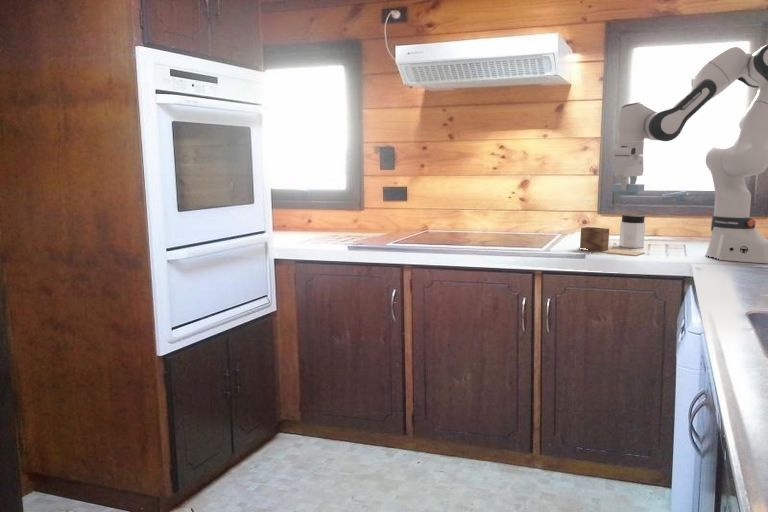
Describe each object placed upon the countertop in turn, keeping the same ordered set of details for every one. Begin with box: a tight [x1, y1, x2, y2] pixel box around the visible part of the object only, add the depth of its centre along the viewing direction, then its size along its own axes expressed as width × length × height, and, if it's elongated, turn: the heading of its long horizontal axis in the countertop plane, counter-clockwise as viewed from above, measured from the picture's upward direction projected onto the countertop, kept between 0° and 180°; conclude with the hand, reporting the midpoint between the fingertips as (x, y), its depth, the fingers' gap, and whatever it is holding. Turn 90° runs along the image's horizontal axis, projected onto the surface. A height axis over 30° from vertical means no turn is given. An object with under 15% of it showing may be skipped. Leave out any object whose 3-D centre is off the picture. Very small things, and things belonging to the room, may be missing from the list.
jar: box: [618, 213, 646, 249], centre depth 268 cm, size 9×8×12 cm
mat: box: [601, 248, 646, 257], centre depth 252 cm, size 12×9×1 cm
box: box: [579, 226, 610, 253], centre depth 258 cm, size 9×5×8 cm, turn 51°
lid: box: [611, 183, 645, 196], centre depth 249 cm, size 9×6×4 cm, turn 51°
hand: (627, 189), depth 249 cm, fingers closed on lid, 6 cm apart
